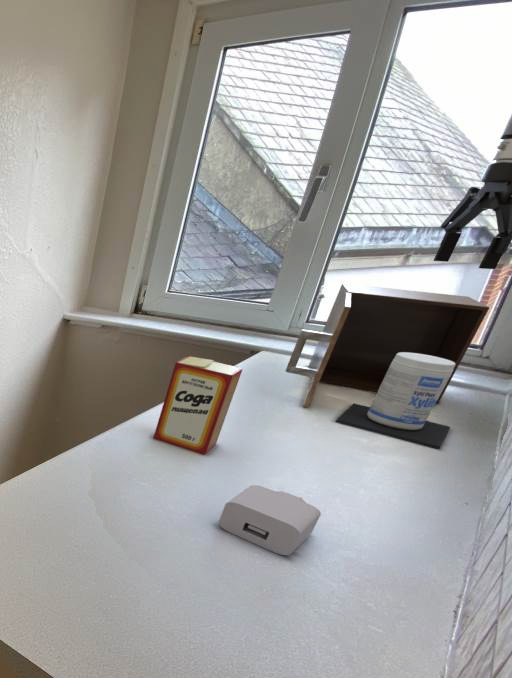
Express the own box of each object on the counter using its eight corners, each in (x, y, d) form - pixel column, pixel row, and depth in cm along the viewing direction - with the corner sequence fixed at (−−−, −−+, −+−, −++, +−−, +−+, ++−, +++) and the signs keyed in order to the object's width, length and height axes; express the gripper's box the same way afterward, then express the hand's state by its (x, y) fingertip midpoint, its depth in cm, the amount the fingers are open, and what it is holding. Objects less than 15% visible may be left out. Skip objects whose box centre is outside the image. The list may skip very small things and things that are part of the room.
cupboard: (438, 404, 134) (489, 307, 124) (311, 381, 147) (348, 291, 137) (423, 385, 148) (468, 296, 138) (308, 366, 160) (342, 283, 150)
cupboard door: (273, 400, 132) (312, 302, 121) (283, 376, 150) (317, 289, 139) (308, 407, 128) (350, 307, 118) (314, 382, 146) (351, 293, 136)
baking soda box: (215, 445, 107) (243, 366, 100) (204, 454, 102) (233, 373, 95) (165, 429, 113) (188, 354, 105) (153, 438, 108) (176, 360, 101)
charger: (323, 523, 82) (288, 558, 74) (255, 496, 89) (216, 526, 80) (336, 496, 80) (302, 529, 72) (266, 471, 87) (227, 499, 78)
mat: (439, 449, 109) (440, 446, 109) (335, 421, 121) (336, 419, 120) (448, 429, 120) (450, 426, 119) (352, 405, 131) (353, 403, 131)
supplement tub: (405, 434, 114) (440, 366, 108) (355, 417, 122) (385, 353, 116) (431, 428, 118) (467, 363, 111) (381, 412, 125) (412, 350, 119)
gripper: (449, 163, 130) (407, 257, 139) (546, 159, 108) (488, 271, 117) (485, 165, 129) (440, 259, 138) (590, 160, 107) (528, 273, 116)
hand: (462, 264), depth 128 cm, fingers open, 13 cm apart
